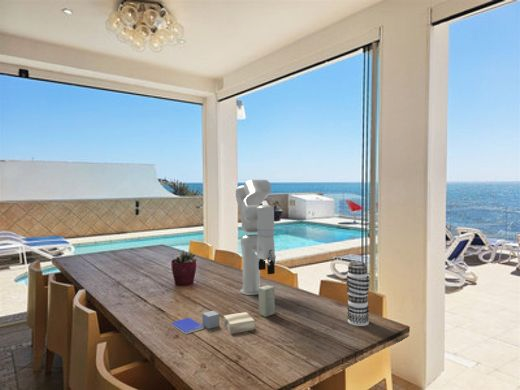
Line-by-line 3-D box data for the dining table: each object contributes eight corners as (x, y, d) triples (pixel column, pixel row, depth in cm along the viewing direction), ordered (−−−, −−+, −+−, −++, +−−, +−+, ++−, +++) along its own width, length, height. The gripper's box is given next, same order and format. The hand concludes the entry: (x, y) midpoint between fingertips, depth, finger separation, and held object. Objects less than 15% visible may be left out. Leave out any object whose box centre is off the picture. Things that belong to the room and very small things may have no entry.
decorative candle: (371, 327, 127) (370, 264, 127) (347, 325, 129) (346, 263, 129) (368, 318, 136) (367, 260, 136) (346, 317, 138) (345, 259, 138)
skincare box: (268, 311, 146) (268, 284, 146) (275, 313, 143) (274, 286, 143) (258, 314, 142) (257, 287, 142) (264, 317, 139) (264, 289, 139)
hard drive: (204, 325, 128) (189, 317, 137) (185, 331, 122) (171, 322, 132) (204, 329, 128) (189, 321, 137) (185, 335, 122) (171, 326, 132)
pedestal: (223, 325, 132) (223, 315, 132) (246, 321, 135) (246, 311, 135) (230, 334, 122) (230, 324, 122) (254, 330, 126) (254, 320, 126)
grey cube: (202, 325, 131) (202, 313, 131) (213, 322, 134) (213, 310, 134) (208, 329, 127) (208, 316, 127) (219, 326, 130) (219, 313, 130)
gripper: (251, 232, 149) (251, 268, 149) (266, 235, 133) (266, 276, 133) (265, 231, 152) (266, 267, 152) (282, 234, 136) (282, 274, 136)
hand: (266, 271), depth 142 cm, fingers open, 9 cm apart
